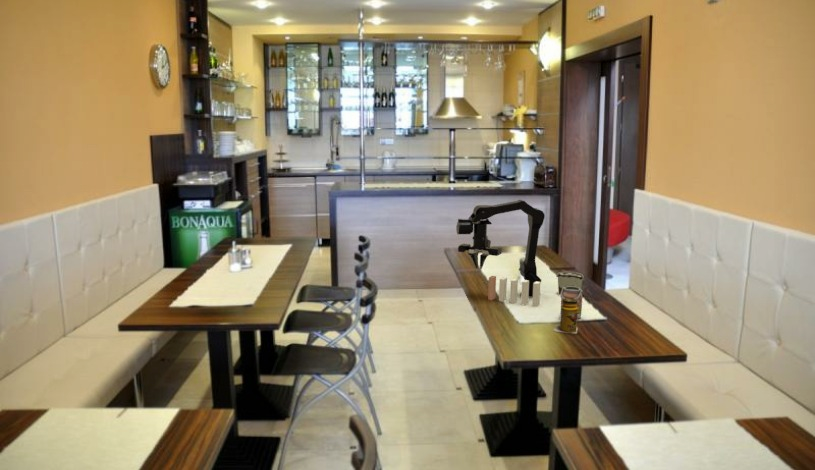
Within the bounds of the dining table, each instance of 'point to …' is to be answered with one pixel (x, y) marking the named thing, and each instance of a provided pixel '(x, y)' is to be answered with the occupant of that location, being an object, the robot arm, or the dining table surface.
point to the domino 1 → (492, 288)
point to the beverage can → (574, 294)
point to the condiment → (568, 317)
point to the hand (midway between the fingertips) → (479, 268)
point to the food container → (569, 280)
